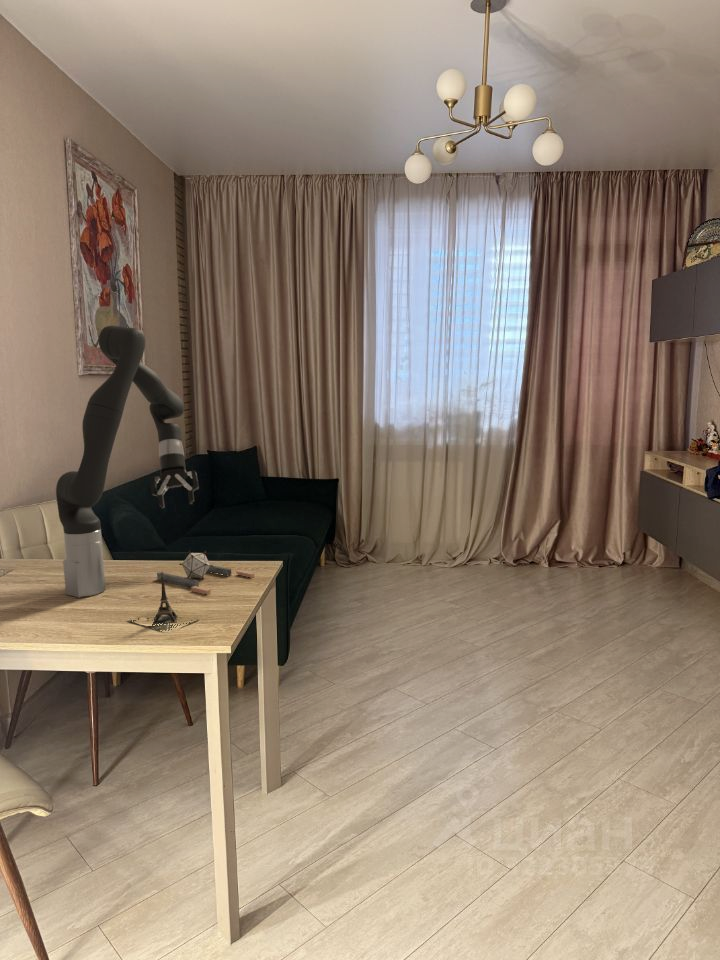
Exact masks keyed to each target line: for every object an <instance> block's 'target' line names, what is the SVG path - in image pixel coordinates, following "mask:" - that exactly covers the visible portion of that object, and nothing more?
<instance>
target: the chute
mask: <svg viewBox="0 0 720 960" xmlns="http://www.w3.org/2000/svg"><path fill="white" fill-rule="evenodd" d="M162 572H163V571H159V572H156V578H157V580H158V581H161V582H162V577H161V573H162ZM209 572H212V573H211V574H214V573H218V574H223V575H228V576H229V575H231V576H232V569H231V568H227V567H224V566H223V567H222V566H219V565H218V566H217V565H213V567H211V566H210V568H209V569H208V571H207V572H206V573H209ZM163 574H164V575H163V577H164V583H165V582H166V583H170V584H173V585H174V584H175V585H179V586H183V587H186V586H187V587H188V588H191V587H194V586H197V587H200V586H199V580H197V579H193V578H190V577H189V578H187V577H185V576H184V577H183V576H179V575H176V574H170V573H166V572H163ZM218 574H217V575H218ZM223 575H222V576H223ZM228 576H227V577H228ZM229 577H230V576H229Z"/></svg>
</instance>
